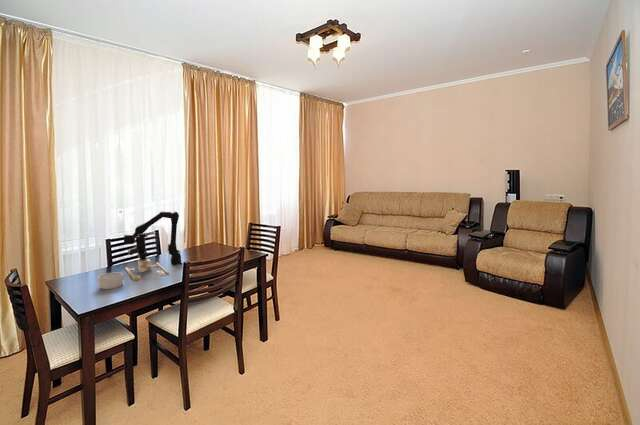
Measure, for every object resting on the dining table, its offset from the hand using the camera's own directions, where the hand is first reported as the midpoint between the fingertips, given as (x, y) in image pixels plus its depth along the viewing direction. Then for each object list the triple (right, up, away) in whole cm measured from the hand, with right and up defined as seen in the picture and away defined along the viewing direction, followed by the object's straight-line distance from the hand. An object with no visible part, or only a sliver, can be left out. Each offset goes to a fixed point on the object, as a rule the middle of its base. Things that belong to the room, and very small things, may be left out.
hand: (142, 264), depth 242 cm
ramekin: (+1, -8, -38) cm, 39 cm away
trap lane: (+8, -4, -10) cm, 14 cm away
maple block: (+5, -3, -6) cm, 8 cm away
